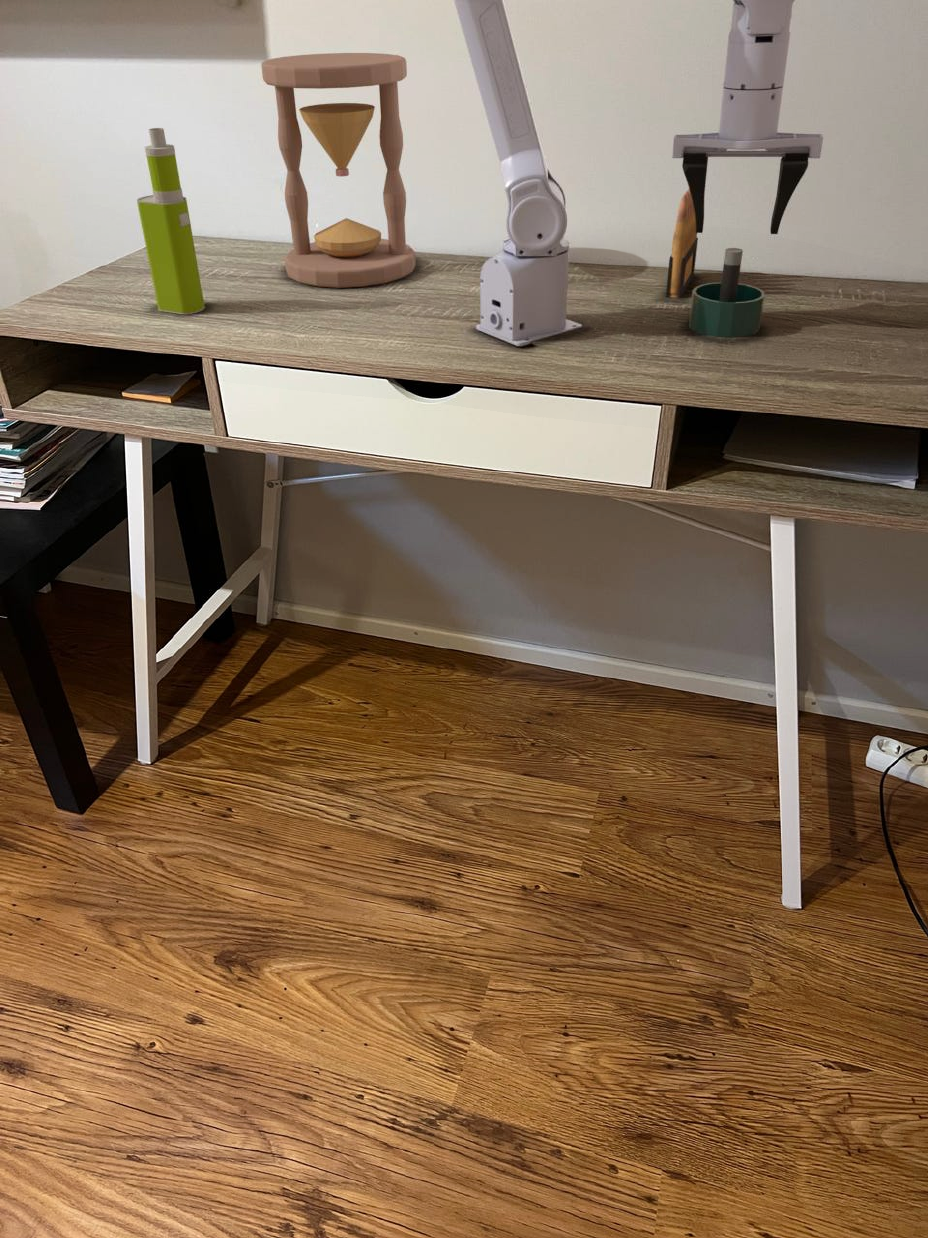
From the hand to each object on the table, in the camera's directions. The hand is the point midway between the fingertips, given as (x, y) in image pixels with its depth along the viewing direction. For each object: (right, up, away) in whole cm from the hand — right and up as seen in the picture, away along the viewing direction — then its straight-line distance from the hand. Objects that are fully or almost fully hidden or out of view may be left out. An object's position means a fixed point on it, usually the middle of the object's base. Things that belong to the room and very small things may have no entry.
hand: (736, 231), depth 104 cm
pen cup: (0, -9, +6) cm, 11 cm away
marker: (0, -8, +6) cm, 10 cm away
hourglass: (-44, +6, +29) cm, 54 cm away
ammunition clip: (-2, 0, +19) cm, 19 cm away
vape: (-64, -3, +17) cm, 66 cm away
